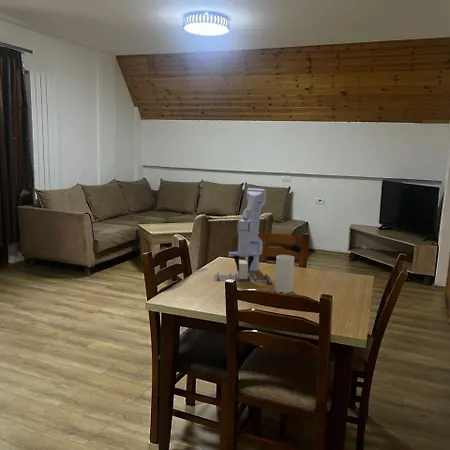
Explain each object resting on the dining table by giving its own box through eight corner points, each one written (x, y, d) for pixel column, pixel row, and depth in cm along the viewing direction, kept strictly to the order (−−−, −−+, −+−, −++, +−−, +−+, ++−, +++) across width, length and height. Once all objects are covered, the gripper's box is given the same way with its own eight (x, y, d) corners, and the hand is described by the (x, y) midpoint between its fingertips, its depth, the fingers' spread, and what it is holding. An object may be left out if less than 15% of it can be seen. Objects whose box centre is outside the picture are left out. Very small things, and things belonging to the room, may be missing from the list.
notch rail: (214, 276, 230) (214, 271, 230) (269, 277, 231) (269, 273, 231) (214, 282, 219) (214, 277, 219) (272, 284, 220) (272, 279, 220)
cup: (291, 293, 207) (293, 259, 204) (273, 292, 208) (275, 258, 206) (292, 288, 215) (294, 255, 212) (275, 287, 216) (277, 254, 214)
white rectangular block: (237, 274, 229) (238, 260, 228) (246, 274, 229) (247, 261, 228) (238, 278, 221) (239, 264, 220) (247, 279, 221) (248, 265, 220)
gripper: (229, 245, 218) (228, 272, 220) (259, 246, 218) (258, 273, 221) (229, 242, 225) (228, 268, 227) (258, 243, 225) (257, 269, 228)
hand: (242, 270), depth 224 cm, fingers closed on white rectangular block, 4 cm apart
